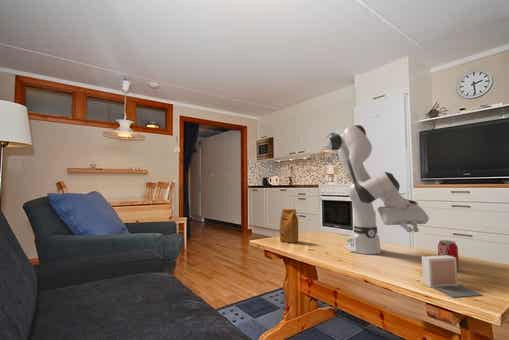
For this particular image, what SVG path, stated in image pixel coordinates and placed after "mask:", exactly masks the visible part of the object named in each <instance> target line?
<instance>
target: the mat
mask: <svg viewBox="0 0 509 340" xmlns="http://www.w3.org/2000/svg"><path fill="white" fill-rule="evenodd" d="M432 288H433V289H434V290H435V291H438V292H440V293H443V294H444V295H446V296H449V297H451V298H452V299H453V298H465V297H467V298H470V297H479V296H480V297H481V296H482V297H483V294H482V293H479V292H478V291H477V292H476V291H475V290H473V289H470V288H467V287H465V286H462V285H456V286H440V287H432Z"/></svg>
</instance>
